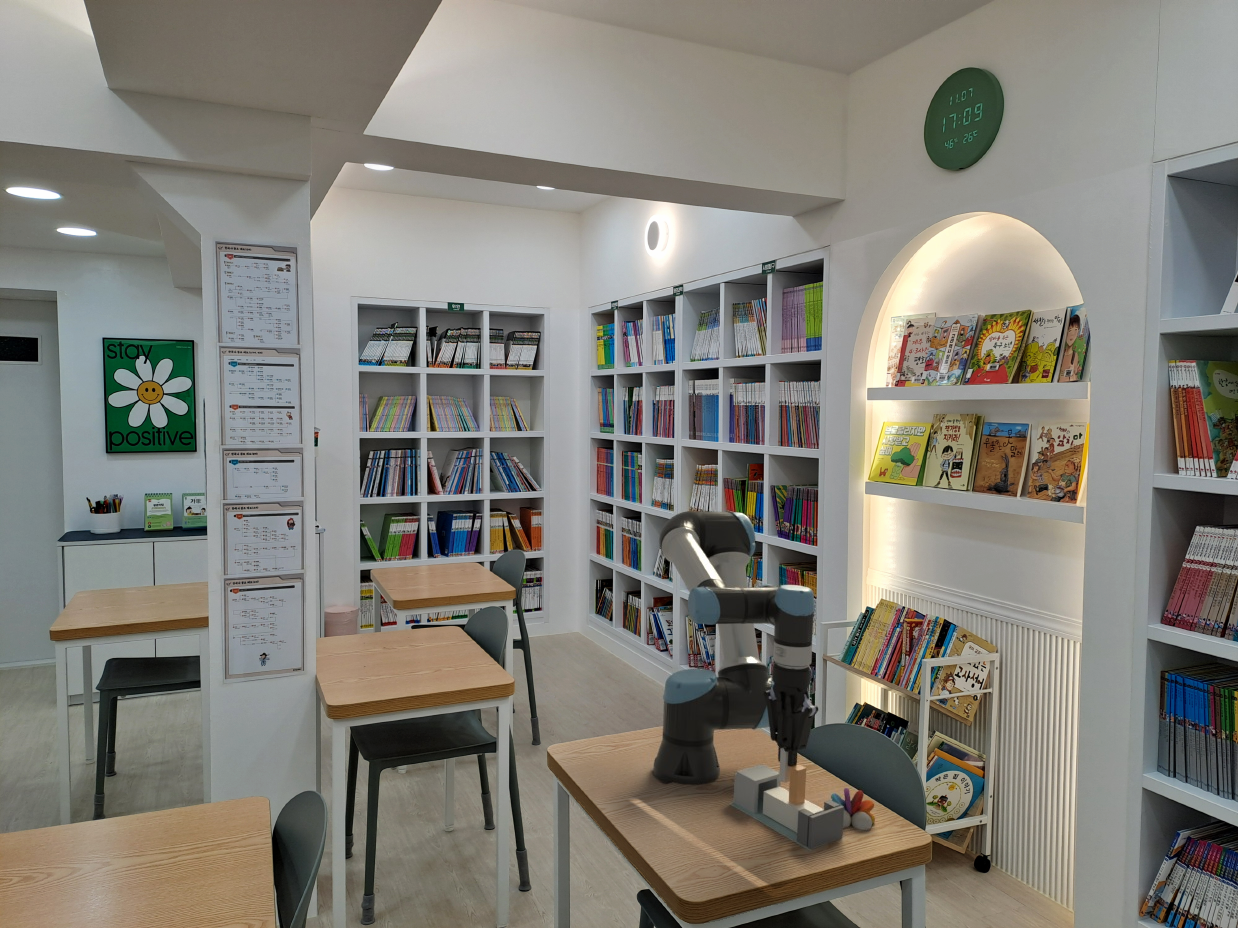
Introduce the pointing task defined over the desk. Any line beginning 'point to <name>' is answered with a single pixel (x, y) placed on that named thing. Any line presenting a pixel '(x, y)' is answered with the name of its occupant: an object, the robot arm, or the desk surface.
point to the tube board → (810, 826)
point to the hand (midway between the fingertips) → (786, 779)
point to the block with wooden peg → (789, 800)
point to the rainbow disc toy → (855, 810)
